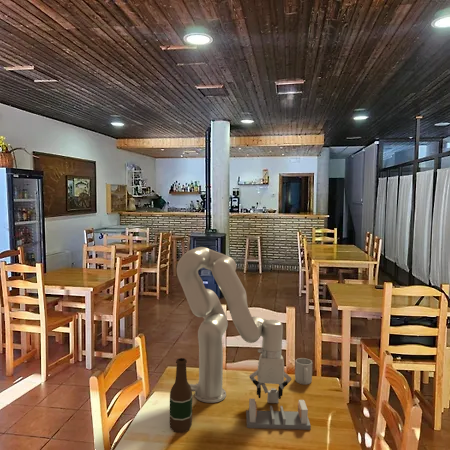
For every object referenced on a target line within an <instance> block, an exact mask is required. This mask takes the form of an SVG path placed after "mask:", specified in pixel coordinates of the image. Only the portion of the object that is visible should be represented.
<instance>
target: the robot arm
mask: <svg viewBox="0 0 450 450" xmlns="http://www.w3.org/2000/svg"><path fill="white" fill-rule="evenodd" d="M203 268H204V269H206V270H208V271H211V274H212V276H213V279H214V280H215V282H216V284H217V285H218V288H219V289H220V291H221V293H222V296H223V297H224V298H225V301H226V304H227V309H228V311H229V314H230V317H231V320H232V322H233V325H234V327H235V329H236V330H237V332H238V334H239V336H240V337H241V339H243V340H244V342H246V343H249V344H253V343H257V342H258V340H259V339H261V337H262V343H261V348H258V349H257V353H260V355H259V357H258V363H257V364H258V365H257V369H256V370H255V371H254V372H252V373H251V374H250V375H249V379H250V380H251V382H252V384H253V385H255V387H256V395H257V396H258V399H261V395H262V387H261V386H262V385H261V384H262V383H265V384H267V385H269V384H272V385H278V389H277V390H278V391H279V400H282V399H281V398H282V397H283V395H284V394H283V393H284V392H283V391H284V388H286V387H287V386H288V384H289V383H290V382H291V381H292V377H291V376H290V375H289V374H288V373H286V371H285V360H284V356H283V355H282V348H283V345H282V344H283V327H284V325H283V322H281V321H280V320H276V319H266V318H262V317H259V316H252V314H251V312H250V309H249V306H248V297H247V296H248V295H247V291H246V289H245V286H244V285H243V283H242V281H241V279H240V278H239V276H238V274H237V272H236V270H237V263H236V261H235V260H234V258H232V257H231V256H229V255H226V254H224V253H222V252H218V251H216V250H213V249H210V248H208V247H204V246H199V247H198V246H197V247H194V248H192V249H190V250H188V251H186V252H185V253H184V254H182V256H181V257H180V258H179V260H178V262H177V265H176V274H177V275H176V276H177V279H178V281H179V284H180V286H181V287H182V290H183V293H184V296H185V298H186V300H187V304H188V306H189V309H190V310H191V313H192V314H193V315H194V316H195V317H197V318H203V321H202V322H201V323H200V325H199V327H198V330H197V341H198V363H199V364H198V383H195V384H193V383H189V385H190V386H191V389H192V392H194V396H195V397H194V398H195V399H196V400H198V401H199V402H203V403H208V404H209V403H210V404H211V403H212V404H213V403H218V402H219V403H220V402H222V401H223V400H224V399H225V398H226V397H227V392H226V390H225V389H224V388H223V380H224V379H223V374H224V373H223V372H224V371H223V369H224V354H223V353H224V351H223V350H224V347H223V335H224V334H225V332H226V330H227V329H228V325H229V324H228V323H229V321H228V318H227V315H226V312H225V310H224V308H223V305H222V303H221V301H220V298H219V297H218V295H217V294H216V292H215V291H214V290H212V289H210V288H206V287H205V284H204V281H203V279H202V277H201V276H200V275H199V270H201V269H203ZM256 376H257V379H256Z"/></svg>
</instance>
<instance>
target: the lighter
mask: <svg viewBox="0 0 450 450" xmlns="http://www.w3.org/2000/svg"><path fill="white" fill-rule="evenodd" d="M261 386H262V387H261V388H262V390H263V391H264V394H267V403H268V404H279V401H280V399H279V391H278V389H276V388H270V390H268V388H267V385H266V383H262V384H261Z"/></svg>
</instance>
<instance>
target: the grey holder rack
mask: <svg viewBox="0 0 450 450" xmlns="http://www.w3.org/2000/svg"><path fill="white" fill-rule="evenodd" d="M248 403H249V404H248V409H247V410H246V411H245V412H246V413H245V417H246V418H245V419H246V428H247V429H272V430H273V429H276V430H277V429H278V430H305V431H306V430H310V431H311V430H312V429H311V426H312V425H311V423H310V419H309V417H308V414H309V413H308V411H309V410H308V409H309V408H308V407H307V404H306V401H305V400H304V399H298V402H297V411H290V410H289V411H286V410H284V408H283V405H280V406H279V407H280V408H279V409H280V410H274V408H273V405H269V410H258V407H257V401H256V399H255V398H249V401H248Z"/></svg>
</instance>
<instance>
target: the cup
mask: <svg viewBox="0 0 450 450" xmlns="http://www.w3.org/2000/svg"><path fill="white" fill-rule="evenodd" d="M294 364H295V367H294V369H295V371H294V380H295V382H296V383H298V384H300V385H303V386H304V385H305V386H306V385H310V384H312V382H313V360H311V359H309V358H306V357H300V358H299V357H298V358H297V359H295V363H294Z"/></svg>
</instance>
